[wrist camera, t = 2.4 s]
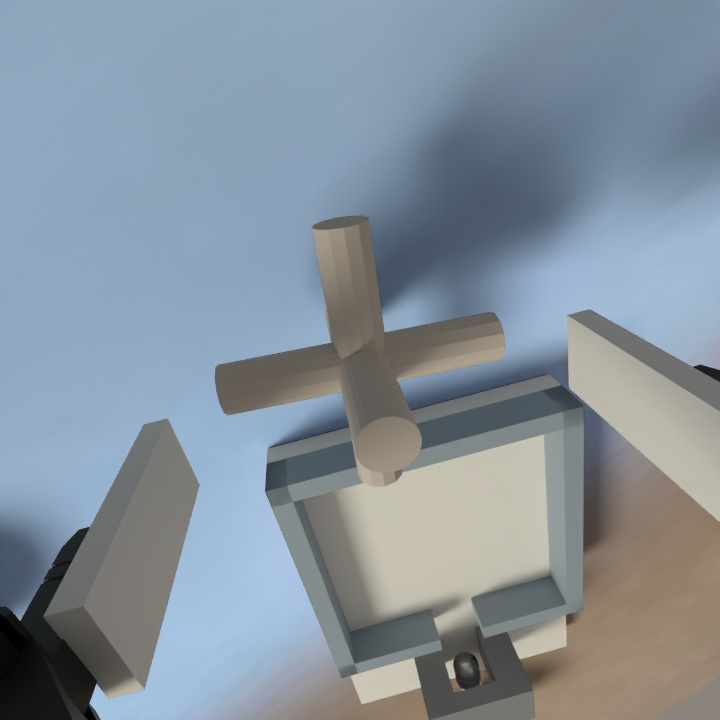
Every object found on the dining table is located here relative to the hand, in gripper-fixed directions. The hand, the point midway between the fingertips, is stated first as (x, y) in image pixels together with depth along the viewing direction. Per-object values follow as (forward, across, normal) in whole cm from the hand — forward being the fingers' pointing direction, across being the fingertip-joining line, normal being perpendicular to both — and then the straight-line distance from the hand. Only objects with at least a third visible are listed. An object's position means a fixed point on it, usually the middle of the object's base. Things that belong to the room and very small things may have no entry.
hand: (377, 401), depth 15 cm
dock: (+7, +2, -16) cm, 18 cm away
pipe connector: (+7, 0, +1) cm, 7 cm away
